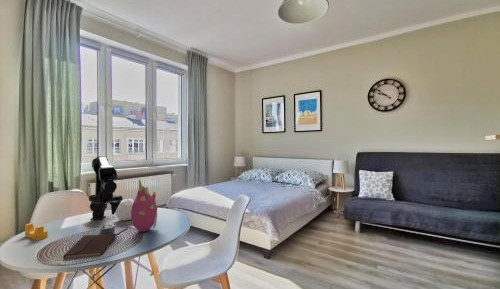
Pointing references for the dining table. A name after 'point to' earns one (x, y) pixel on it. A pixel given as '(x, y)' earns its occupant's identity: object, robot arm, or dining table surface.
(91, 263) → the dining table surface
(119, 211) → the geodesic sphere
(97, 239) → the notebook
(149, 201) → the pink dragon fruit
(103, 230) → the ring
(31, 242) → the dining table surface
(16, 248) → the dining table surface
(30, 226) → the pipe clamp
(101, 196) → the robot arm
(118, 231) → the gray square plate
